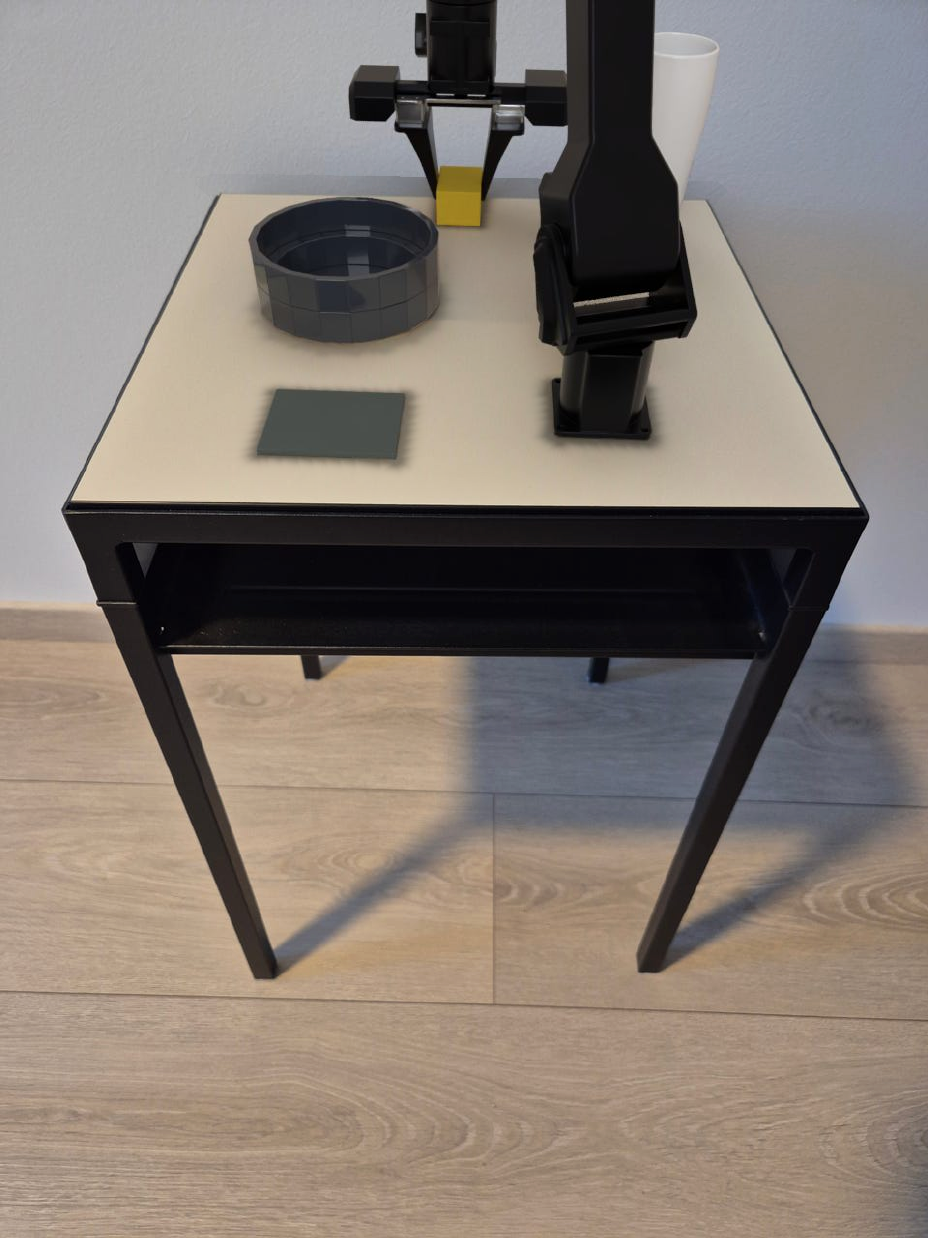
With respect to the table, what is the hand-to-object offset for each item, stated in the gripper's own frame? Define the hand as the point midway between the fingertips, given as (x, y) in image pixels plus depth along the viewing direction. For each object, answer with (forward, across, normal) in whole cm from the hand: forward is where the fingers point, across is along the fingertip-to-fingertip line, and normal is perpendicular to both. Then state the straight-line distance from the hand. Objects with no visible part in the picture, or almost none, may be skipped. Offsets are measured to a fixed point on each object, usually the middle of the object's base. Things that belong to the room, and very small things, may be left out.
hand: (460, 198), depth 80 cm
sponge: (+1, 0, 0) cm, 1 cm away
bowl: (+1, +8, +18) cm, 20 cm away
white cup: (+1, -17, +4) cm, 18 cm away
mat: (+1, +7, +34) cm, 35 cm away
